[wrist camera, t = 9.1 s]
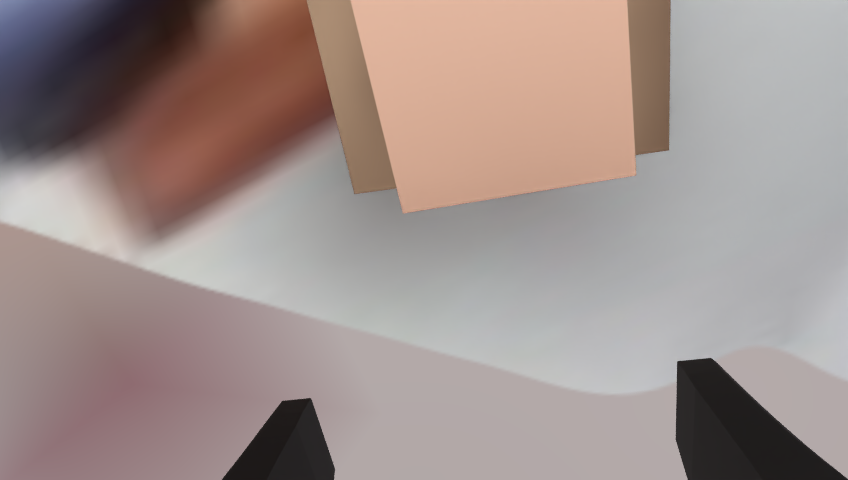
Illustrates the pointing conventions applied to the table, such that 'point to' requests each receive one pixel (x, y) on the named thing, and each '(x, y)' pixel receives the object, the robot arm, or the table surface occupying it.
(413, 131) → the pinkish brown rectangular block
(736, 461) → the robot arm
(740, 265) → the table surface
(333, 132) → the table surface
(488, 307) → the table surface
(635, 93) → the walnut pad
